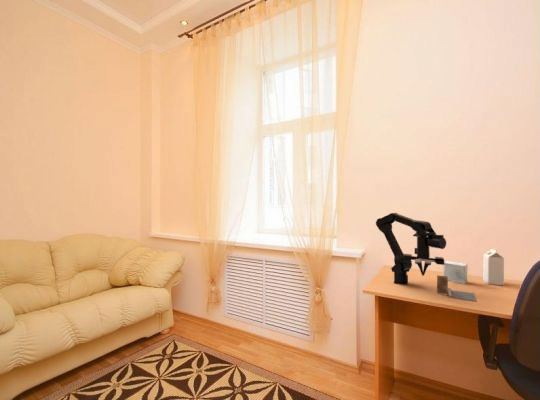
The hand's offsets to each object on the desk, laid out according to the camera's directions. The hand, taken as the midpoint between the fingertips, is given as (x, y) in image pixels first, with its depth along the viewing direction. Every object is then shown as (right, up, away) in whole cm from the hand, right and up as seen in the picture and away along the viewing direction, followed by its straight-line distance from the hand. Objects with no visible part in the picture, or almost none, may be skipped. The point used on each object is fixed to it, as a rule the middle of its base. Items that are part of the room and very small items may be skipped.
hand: (423, 275), depth 145 cm
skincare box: (+27, -7, +15) cm, 31 cm away
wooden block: (+7, -8, -4) cm, 11 cm away
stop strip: (+10, -8, -6) cm, 14 cm away
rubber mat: (+15, -8, -9) cm, 19 cm away
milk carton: (+45, -7, +11) cm, 47 cm away
